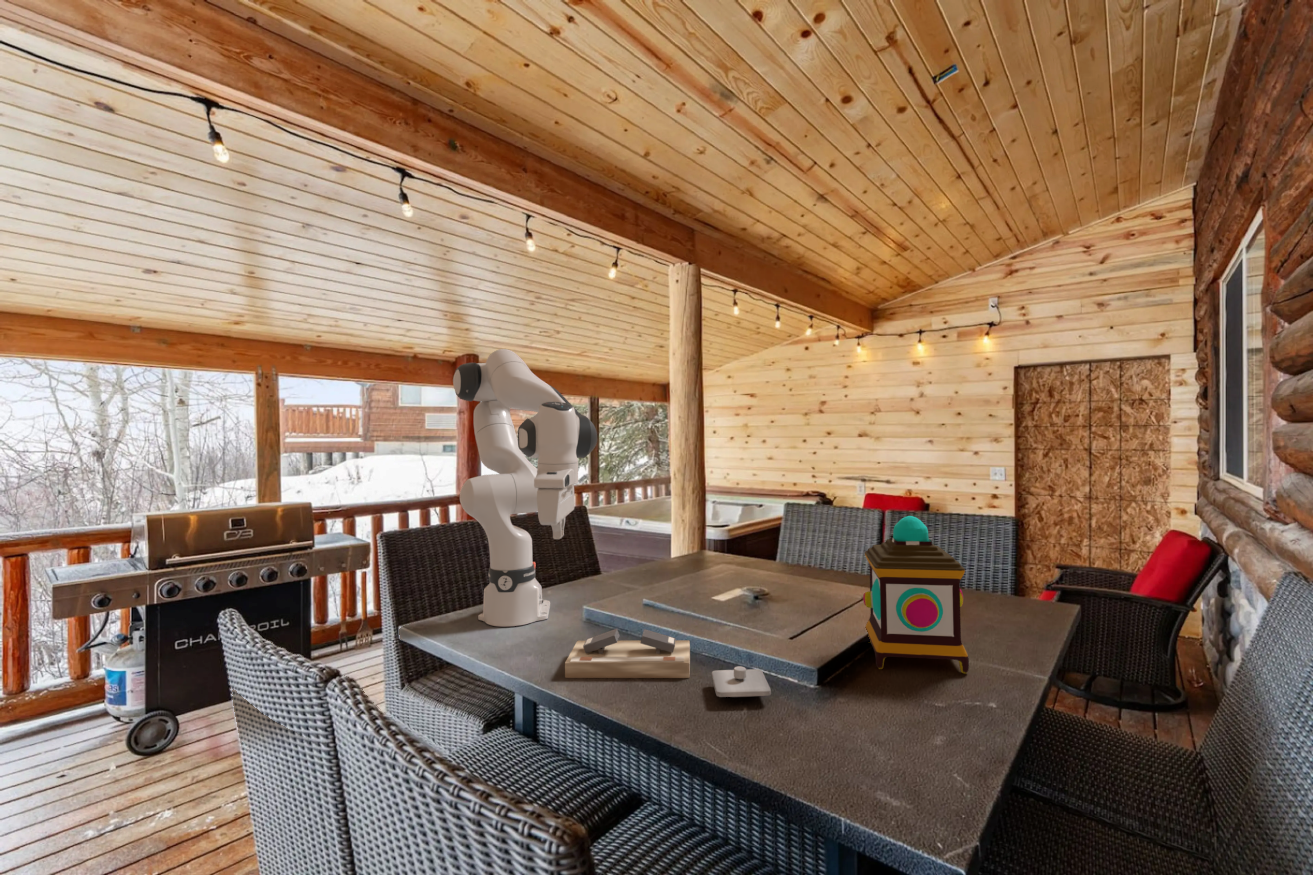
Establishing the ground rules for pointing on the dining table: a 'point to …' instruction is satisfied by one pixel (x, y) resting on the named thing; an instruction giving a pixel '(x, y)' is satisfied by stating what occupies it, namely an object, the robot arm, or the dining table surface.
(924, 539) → the decorative lantern
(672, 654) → the switch panel
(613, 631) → the plate
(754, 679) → the light switch
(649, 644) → the plate
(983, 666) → the dining table surface
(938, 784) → the dining table surface
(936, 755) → the dining table surface
